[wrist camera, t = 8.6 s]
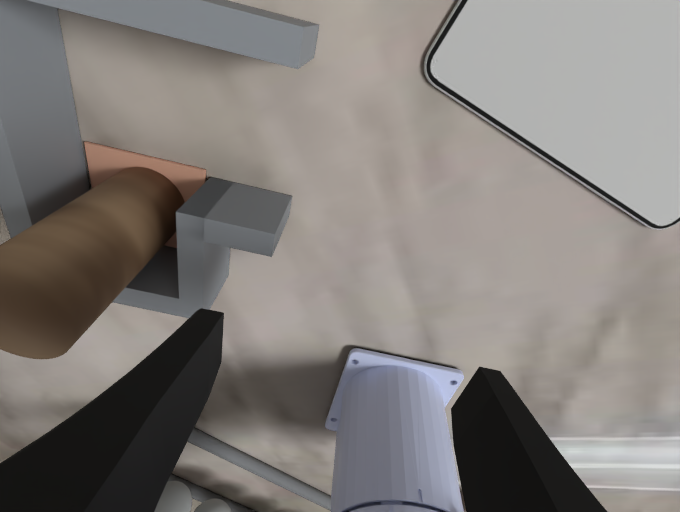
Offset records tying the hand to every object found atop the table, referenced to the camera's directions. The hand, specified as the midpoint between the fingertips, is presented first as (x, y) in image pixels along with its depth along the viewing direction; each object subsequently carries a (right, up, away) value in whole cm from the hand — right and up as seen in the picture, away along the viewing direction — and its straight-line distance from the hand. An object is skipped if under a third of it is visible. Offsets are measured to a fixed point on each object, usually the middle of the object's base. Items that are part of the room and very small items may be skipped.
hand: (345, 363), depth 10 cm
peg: (-10, +6, +9) cm, 15 cm away
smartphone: (+11, +10, +5) cm, 16 cm away
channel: (-8, +8, +8) cm, 14 cm away
